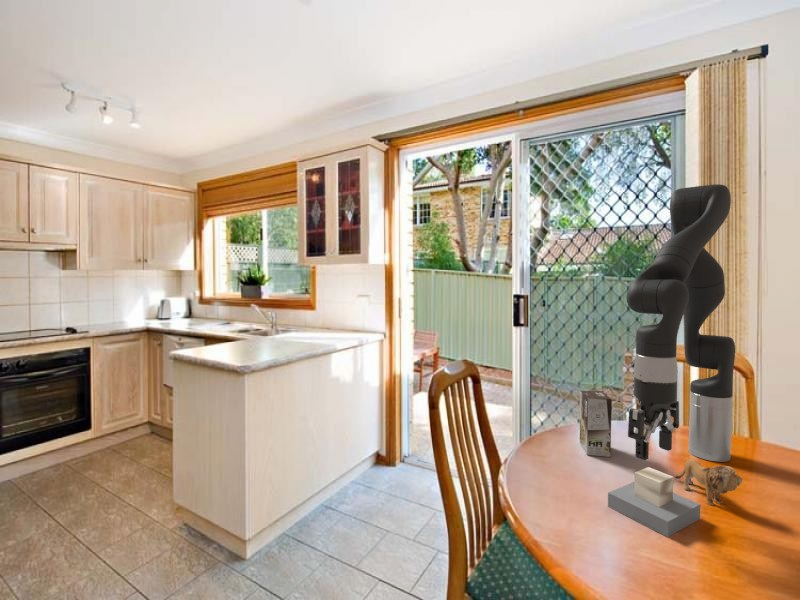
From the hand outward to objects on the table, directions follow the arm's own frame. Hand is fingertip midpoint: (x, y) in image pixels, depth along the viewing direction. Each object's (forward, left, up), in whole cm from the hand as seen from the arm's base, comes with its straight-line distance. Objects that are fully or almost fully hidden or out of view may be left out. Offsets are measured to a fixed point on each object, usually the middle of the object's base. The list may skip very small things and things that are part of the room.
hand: (653, 453), depth 83 cm
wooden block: (0, 0, -9) cm, 9 cm away
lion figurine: (-17, +2, -13) cm, 21 cm away
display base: (0, 0, -12) cm, 12 cm away
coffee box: (-18, -26, -13) cm, 34 cm away
